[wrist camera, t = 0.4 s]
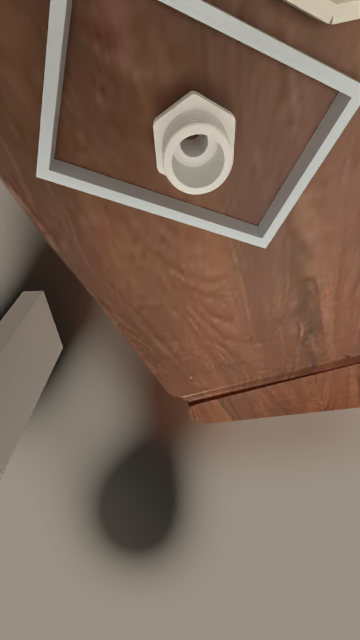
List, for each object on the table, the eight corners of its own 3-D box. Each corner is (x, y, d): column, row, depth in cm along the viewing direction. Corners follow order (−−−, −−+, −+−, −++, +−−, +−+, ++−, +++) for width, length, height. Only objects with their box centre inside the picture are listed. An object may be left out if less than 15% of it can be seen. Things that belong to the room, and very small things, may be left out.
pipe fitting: (136, 117, 30) (132, 154, 25) (207, 62, 28) (220, 89, 22) (176, 176, 34) (180, 219, 29) (241, 133, 32) (259, 170, 26)
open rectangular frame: (64, -73, 22) (56, -75, 20) (357, 80, 29) (370, 88, 27) (42, 165, 33) (36, 176, 31) (260, 235, 40) (265, 248, 38)
